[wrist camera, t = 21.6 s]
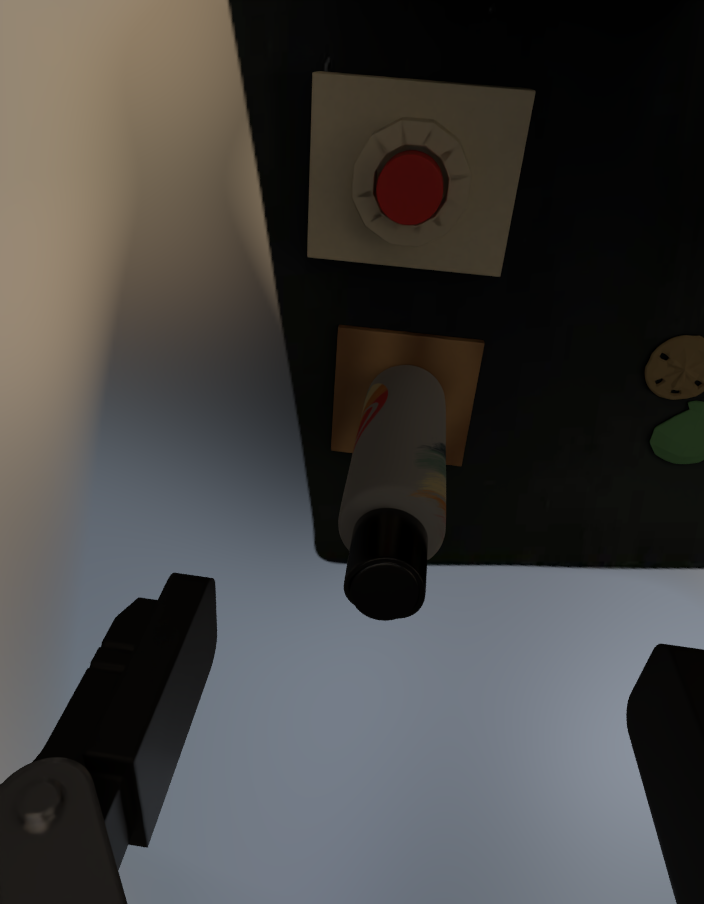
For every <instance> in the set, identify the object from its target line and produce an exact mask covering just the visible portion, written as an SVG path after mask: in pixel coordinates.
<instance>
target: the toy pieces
mask: <svg viewBox="0 0 704 904" xmlns="http://www.w3.org/2000/svg"><path fill="white" fill-rule="evenodd" d="M661 353H664V354H666V355H667V356H668V357H669V359H668V360H667V361H666V360H663V359H661V358H660V357H659V356H660V355H661ZM661 378H662V379H663V380H662V381H661V382H660V383H658V384H656V383H655V381H656V380H658V379H661ZM645 380H646V383H647V385H648V387H649V389H650V390H651V391H652V392H653V393H654V394H656V395H658V396H659V397H663V398H667V399H671V400H675V399H686V398H691V397H695V396H697V395H699V394H700V393H702V392H703V391H704V338H703V337H701V336H689V335H682V336H677V337H674V338H672V339H669V340H668V341H666V342H664V343H663V344H661V345H660V346H659V347H658V348H656V350H655V351H654V352H653V353H652V354H651V357H650V360H649V362H648V363H647V365H646V366H645ZM696 380H698V381H700V382H701V383H702V384H701V385H699V386H697V385H696V384H695V383H694V381H696ZM671 390H680V391H679V393H670V392H671ZM688 405H689V410H686V411H684V412H682V413H680V414H678V415H676V416H674V417H672V418H670V419H668V420H667V421H665V422H663V423H661V424H660V425H658V426H656V427H655V428H654V431H653V433H652V436H651V439H650V441H649V442H650V444H651V446H652V449H653V451H654V453H655V454H656V455H657V456H659V457H661V458H662V459H664V460H666V461H669V462H672V463H675V464H691V463H698V462H700V461H702V460H704V402H703V401H691V402H688Z"/></svg>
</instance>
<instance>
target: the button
mask: <svg viewBox="0 0 704 904" xmlns="http://www.w3.org/2000/svg"><path fill="white" fill-rule="evenodd" d="M376 195H377V200H378V203H379V206H380V208H381V210H382V211H383V213H384V214H385V215H386V216H387V217H388V218H389V219H391V220H392V221H394V222H396V223H399V224H402V225H416V224H419V223H422V222H424V221H426V220H427V219H429V218H430V217H431V216H432V215H433V214H434V213H435V212H436V210H437V209H438V207H439V205H440V203H441V200H442V197H443V175H442V172H441V169H440V167H439V165H438V164H437V162H436V161H435V160H434V159H433V158H432V157H431V156H429V155H428V154H426V153H424V152H421V151H417V150H407V151H403V152H400V153H398V154H396V155H394V156H393V157H392V158H391V159H390V160H389V161H388V162H387V163H386V164H385V166H384V167H383V169H382V171H381V173H380V175H379V178H378V181H377V186H376Z"/></svg>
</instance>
